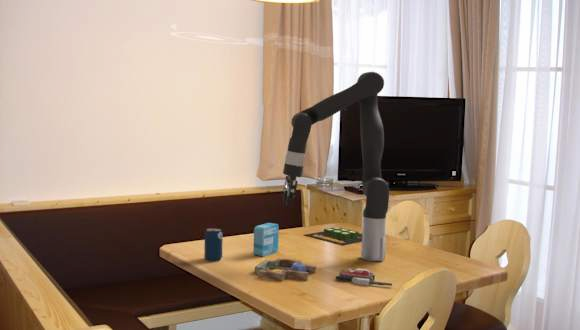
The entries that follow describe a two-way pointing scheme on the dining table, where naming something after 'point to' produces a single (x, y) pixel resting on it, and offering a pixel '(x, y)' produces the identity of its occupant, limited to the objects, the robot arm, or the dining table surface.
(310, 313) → the dining table surface
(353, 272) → the walkie-talkie
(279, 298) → the dining table surface
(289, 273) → the trap channel
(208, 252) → the soda can
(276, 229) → the light blue box
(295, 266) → the decorative dice
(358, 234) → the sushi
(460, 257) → the dining table surface
